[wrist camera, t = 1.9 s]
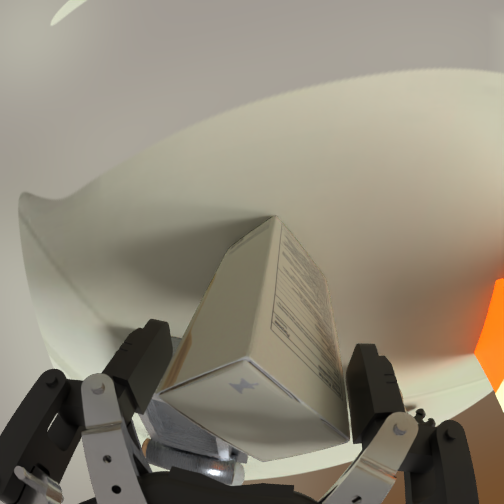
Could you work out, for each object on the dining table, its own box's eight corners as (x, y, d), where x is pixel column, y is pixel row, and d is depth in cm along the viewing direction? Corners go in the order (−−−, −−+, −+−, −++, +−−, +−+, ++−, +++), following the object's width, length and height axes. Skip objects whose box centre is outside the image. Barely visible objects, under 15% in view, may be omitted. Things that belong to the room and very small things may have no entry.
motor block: (259, 351, 22) (241, 437, 14) (253, 429, 28) (241, 490, 20) (142, 330, 23) (96, 395, 16) (167, 411, 29) (143, 464, 21)
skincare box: (226, 248, 19) (142, 389, 8) (276, 211, 17) (239, 347, 6) (281, 313, 20) (260, 467, 9) (331, 284, 19) (353, 445, 8)
